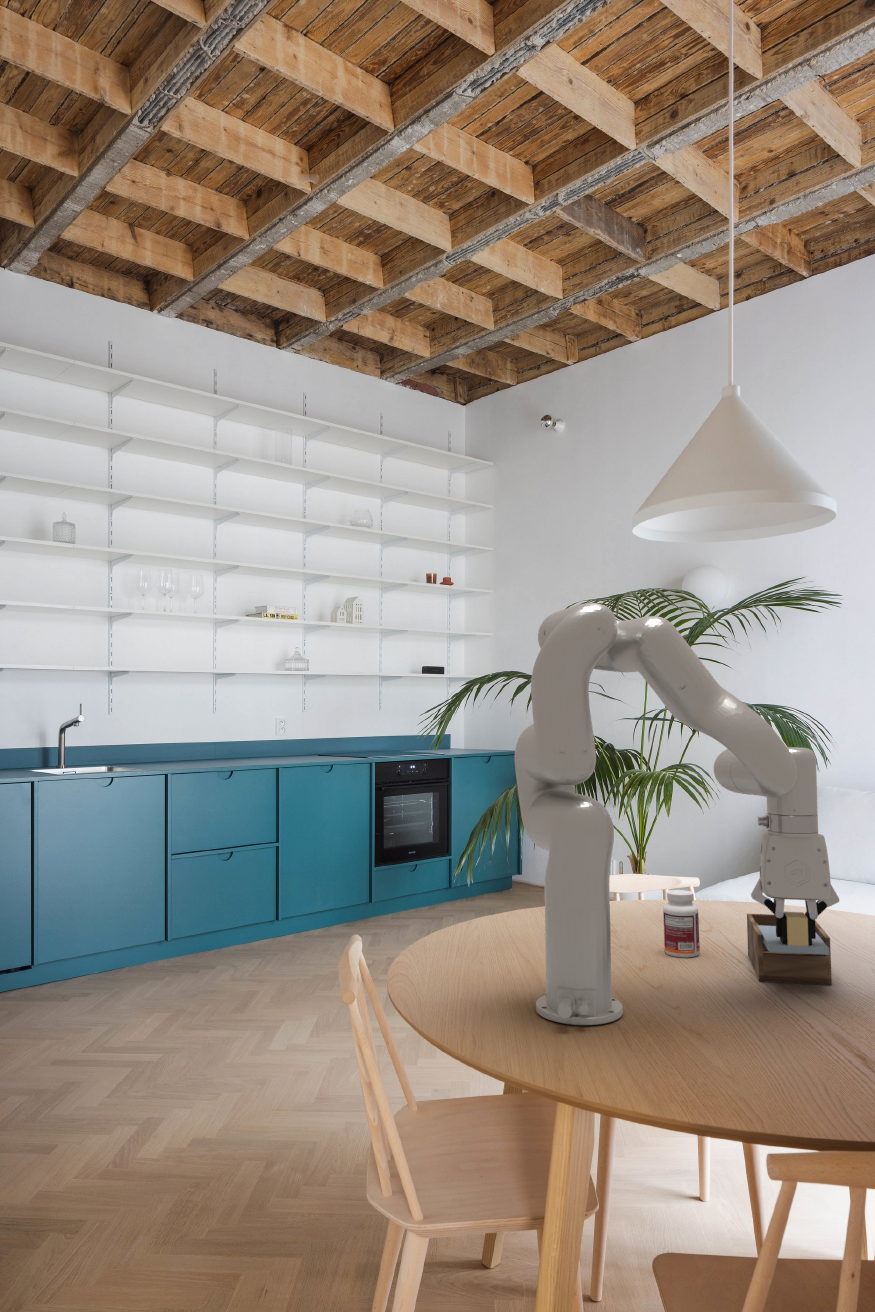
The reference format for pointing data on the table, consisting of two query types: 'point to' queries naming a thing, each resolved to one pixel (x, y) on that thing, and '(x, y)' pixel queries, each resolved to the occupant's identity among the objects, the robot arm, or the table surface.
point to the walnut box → (786, 957)
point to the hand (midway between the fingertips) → (795, 941)
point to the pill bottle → (681, 924)
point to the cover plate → (784, 948)
